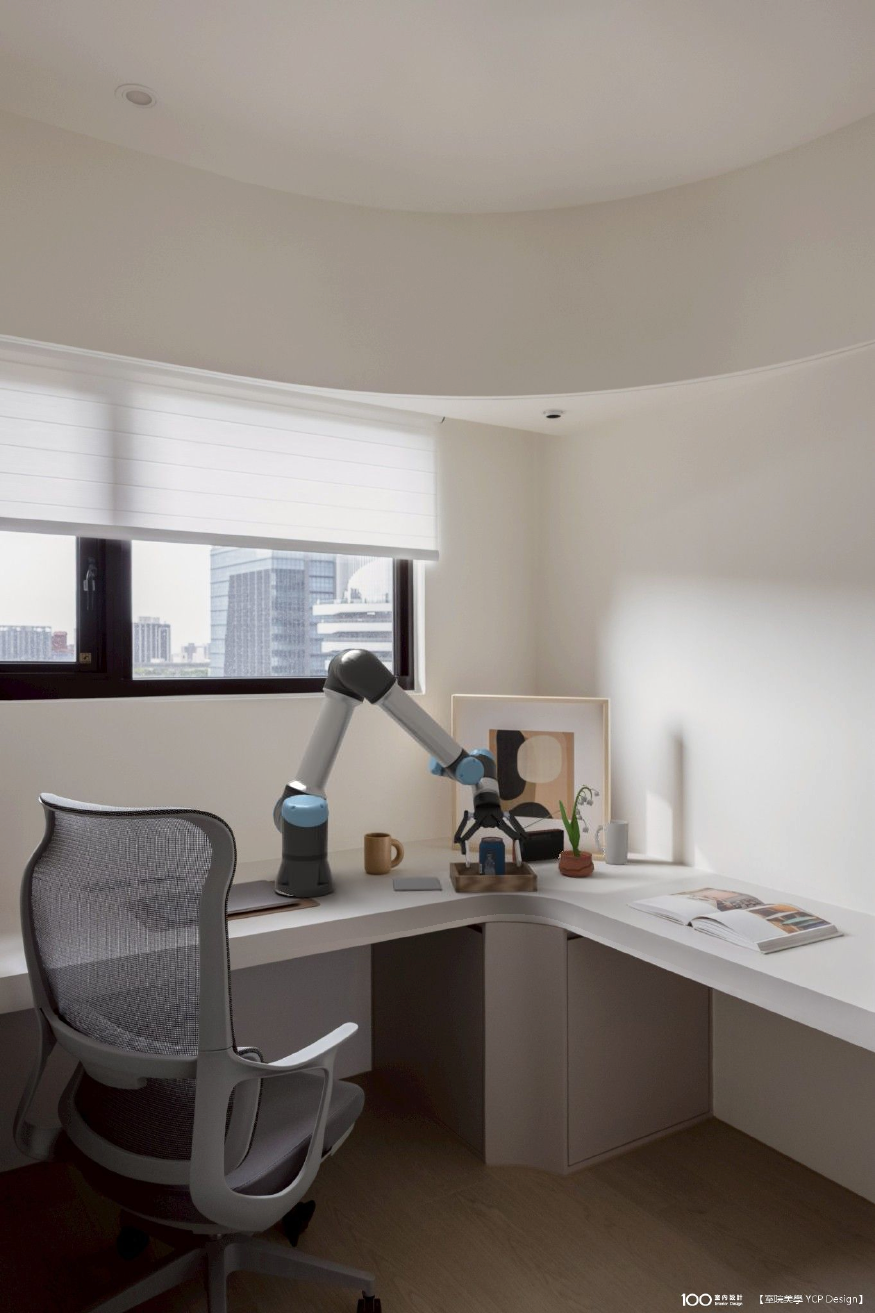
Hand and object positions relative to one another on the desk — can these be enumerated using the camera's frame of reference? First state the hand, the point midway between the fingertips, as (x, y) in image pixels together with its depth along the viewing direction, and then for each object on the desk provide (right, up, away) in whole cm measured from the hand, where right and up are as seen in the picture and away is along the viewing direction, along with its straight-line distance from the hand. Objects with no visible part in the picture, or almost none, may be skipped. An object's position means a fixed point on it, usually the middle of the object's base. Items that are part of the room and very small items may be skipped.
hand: (494, 864), depth 240 cm
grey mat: (-20, -5, 0) cm, 21 cm away
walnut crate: (0, -5, +1) cm, 6 cm away
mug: (+36, -6, +28) cm, 46 cm away
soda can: (0, -6, +1) cm, 6 cm away
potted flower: (+25, -6, +13) cm, 29 cm away
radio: (+16, -6, +31) cm, 35 cm away
